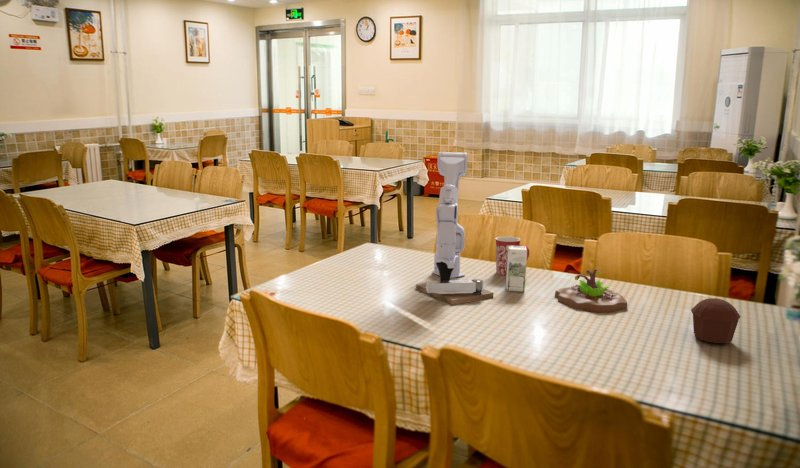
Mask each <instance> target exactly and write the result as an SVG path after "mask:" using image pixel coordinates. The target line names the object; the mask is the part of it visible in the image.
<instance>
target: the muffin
mask: <svg viewBox="0 0 800 468" xmlns="http://www.w3.org/2000/svg"><path fill="white" fill-rule="evenodd" d="M690 312H691V314H692V326H693V327H692V328H693V334H694V337H695V338H698V339H699V340H702V341H703V342H709V343H713V344H727V343H732V341H733V338H734V336H735V332H736V329H737V326H738V323H739V319H740V318H741V317H742V316H741V315H740V314H739V311H738V310H737V309H736V308H735V306H734V305H732V304H731V303H730V302H728V301H727V300H725V299H724V300H723V299H720V298H714V297H711V298H704V299H702V300H700V301H699V302H698V303H696V304H695V305H694V306H693V307H692V308H691V309H690Z"/></svg>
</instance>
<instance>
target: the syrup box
mask: <svg viewBox="0 0 800 468" xmlns="http://www.w3.org/2000/svg"><path fill="white" fill-rule="evenodd" d="M525 246H526V245H525ZM525 246H521V245H520V246H508V256H507V274H506V276H505V277H506V278H505V279H506V280H505V289H506V290H507V291H506V292H513V293H514V292H516V293H525V292H526V291H525V290H526V289H525V288H526V272H527V261H528V259H527V249H526V247H525Z"/></svg>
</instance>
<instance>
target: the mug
mask: <svg viewBox="0 0 800 468" xmlns="http://www.w3.org/2000/svg"><path fill="white" fill-rule="evenodd" d="M520 242H521V238H520V237H516V236H497V237H495V262H496V263H495V266H496V267H495V269H496V270H495V272H496V274H497V275H499V276H504V277H506V274H507V256H508V246H525V247H526V249H527V260H528V259H529V257H530V249H529V247H528V246H527V245H524V244H522V245H520V244H521V243H520Z"/></svg>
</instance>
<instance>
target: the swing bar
mask: <svg viewBox="0 0 800 468" xmlns="http://www.w3.org/2000/svg"><path fill="white" fill-rule="evenodd" d="M425 283H426V291H427V292H428V293H448V292H483V289H484V286H485V285H484V284H485V283H484V280H483V279H479V278H476V279H475V278H473V279H459V280H446V281H439V280H426V282H425Z"/></svg>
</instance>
